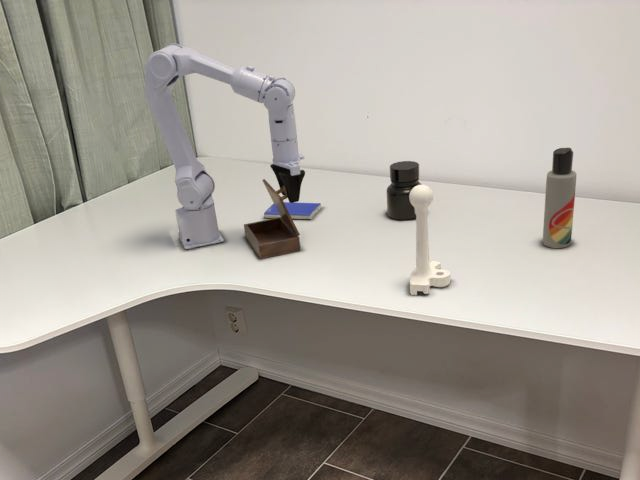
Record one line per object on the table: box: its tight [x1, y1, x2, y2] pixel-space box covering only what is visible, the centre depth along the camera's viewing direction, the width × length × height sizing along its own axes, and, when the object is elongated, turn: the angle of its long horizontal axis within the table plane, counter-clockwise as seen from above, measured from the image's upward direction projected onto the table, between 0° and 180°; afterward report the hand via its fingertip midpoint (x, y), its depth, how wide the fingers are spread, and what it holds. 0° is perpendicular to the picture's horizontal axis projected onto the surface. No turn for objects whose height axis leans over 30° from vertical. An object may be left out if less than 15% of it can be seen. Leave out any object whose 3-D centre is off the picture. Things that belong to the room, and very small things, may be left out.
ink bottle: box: [386, 160, 423, 221], centre depth 185 cm, size 10×9×12 cm
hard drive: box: [263, 201, 322, 220], centre depth 197 cm, size 2×8×12 cm
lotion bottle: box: [542, 147, 577, 249], centre depth 159 cm, size 6×6×20 cm
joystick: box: [409, 184, 451, 296], centre depth 149 cm, size 11×8×20 cm
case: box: [243, 217, 301, 260], centre depth 180 cm, size 9×15×3 cm, turn 16°
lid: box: [262, 178, 301, 237], centre depth 177 cm, size 10×15×4 cm
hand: (290, 198), depth 177 cm, fingers closed on lid, 5 cm apart
